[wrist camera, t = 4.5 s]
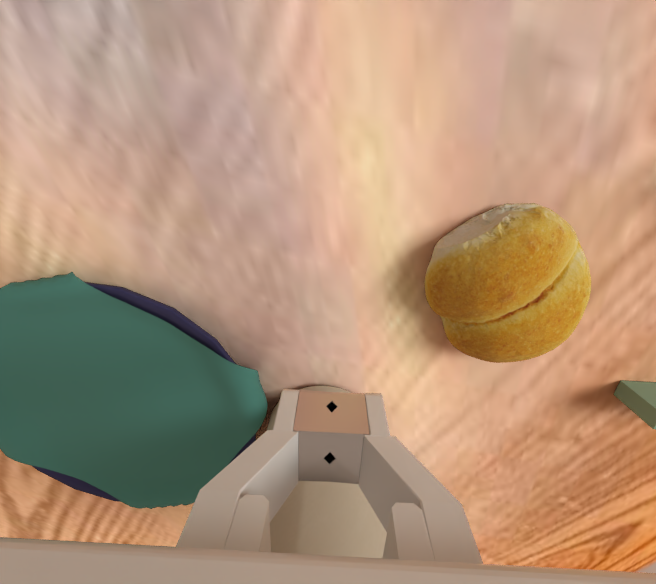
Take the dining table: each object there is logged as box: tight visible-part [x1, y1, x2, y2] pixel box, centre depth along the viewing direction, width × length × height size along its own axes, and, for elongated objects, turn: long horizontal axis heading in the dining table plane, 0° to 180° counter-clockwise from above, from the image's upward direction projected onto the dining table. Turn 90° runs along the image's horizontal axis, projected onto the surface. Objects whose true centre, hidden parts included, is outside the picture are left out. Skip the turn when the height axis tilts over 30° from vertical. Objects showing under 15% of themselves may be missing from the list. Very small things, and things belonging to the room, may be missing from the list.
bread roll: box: [424, 203, 591, 363], centre depth 17 cm, size 8×9×4 cm
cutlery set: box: [0, 272, 268, 509], centre depth 22 cm, size 20×30×2 cm, turn 55°
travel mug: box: [267, 386, 387, 558], centre depth 15 cm, size 8×8×18 cm
